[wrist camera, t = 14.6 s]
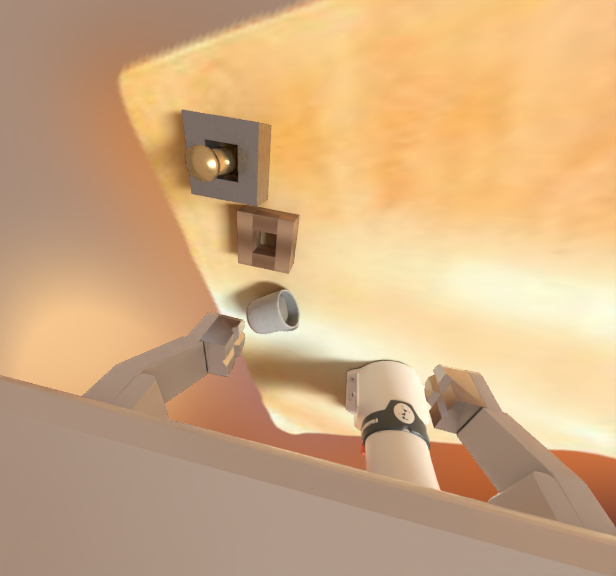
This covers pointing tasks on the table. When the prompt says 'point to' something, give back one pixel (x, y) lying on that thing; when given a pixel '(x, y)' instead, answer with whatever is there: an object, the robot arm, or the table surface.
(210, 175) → the pin
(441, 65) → the table surface
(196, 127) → the socket
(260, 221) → the mount
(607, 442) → the table surface
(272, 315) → the ceramic mug
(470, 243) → the table surface
